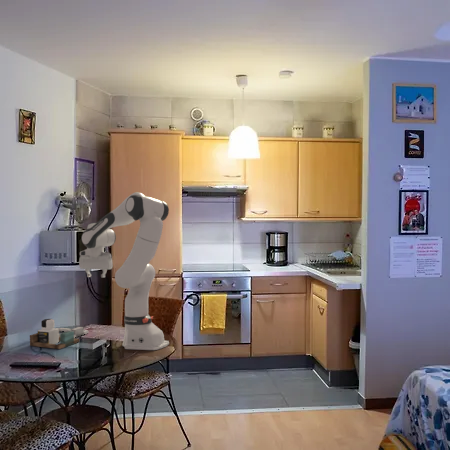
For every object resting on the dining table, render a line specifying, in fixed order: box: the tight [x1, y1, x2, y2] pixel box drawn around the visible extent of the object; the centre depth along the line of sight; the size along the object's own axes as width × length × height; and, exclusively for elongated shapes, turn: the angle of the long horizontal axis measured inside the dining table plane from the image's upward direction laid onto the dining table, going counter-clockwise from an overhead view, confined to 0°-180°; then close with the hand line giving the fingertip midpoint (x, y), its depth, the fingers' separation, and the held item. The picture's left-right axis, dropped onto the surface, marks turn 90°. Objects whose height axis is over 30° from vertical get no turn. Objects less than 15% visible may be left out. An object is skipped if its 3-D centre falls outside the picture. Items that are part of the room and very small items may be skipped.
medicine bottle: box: [37, 318, 60, 344], centre depth 233 cm, size 7×7×12 cm
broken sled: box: [58, 326, 89, 338], centre depth 249 cm, size 19×14×4 cm
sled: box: [29, 331, 80, 350], centre depth 232 cm, size 18×14×6 cm
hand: (96, 277), depth 259 cm, fingers open, 8 cm apart
